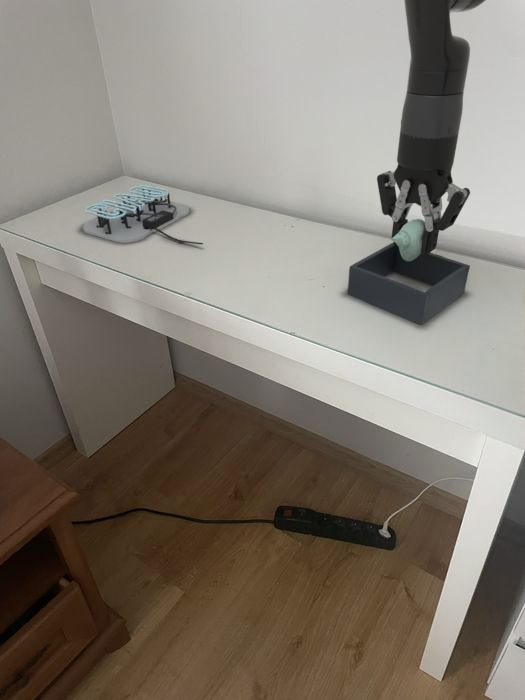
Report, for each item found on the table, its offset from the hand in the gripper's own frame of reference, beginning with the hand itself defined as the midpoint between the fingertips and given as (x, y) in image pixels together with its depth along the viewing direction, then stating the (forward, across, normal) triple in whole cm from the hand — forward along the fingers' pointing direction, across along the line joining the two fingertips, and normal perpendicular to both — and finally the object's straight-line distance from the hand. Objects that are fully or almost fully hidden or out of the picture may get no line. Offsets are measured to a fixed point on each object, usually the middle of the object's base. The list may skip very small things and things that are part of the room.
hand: (412, 247), depth 80 cm
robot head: (+2, 0, 0) cm, 2 cm away
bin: (+8, 0, 0) cm, 8 cm away
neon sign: (+8, +53, +9) cm, 54 cm away
